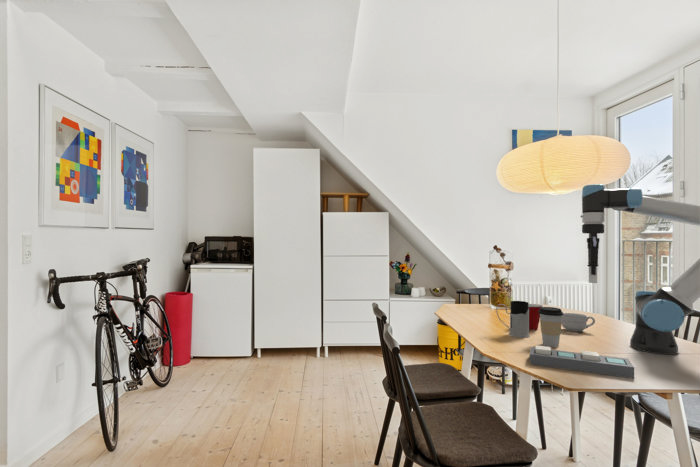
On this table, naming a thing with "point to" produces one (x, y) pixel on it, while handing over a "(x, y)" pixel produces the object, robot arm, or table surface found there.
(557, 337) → the coffee cup
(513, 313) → the grey and black mug
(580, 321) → the teacup
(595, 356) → the white key
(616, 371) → the keyboard
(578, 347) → the table surface
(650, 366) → the table surface
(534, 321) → the plastic cup
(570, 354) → the teal key
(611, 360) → the teal key
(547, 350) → the white key
